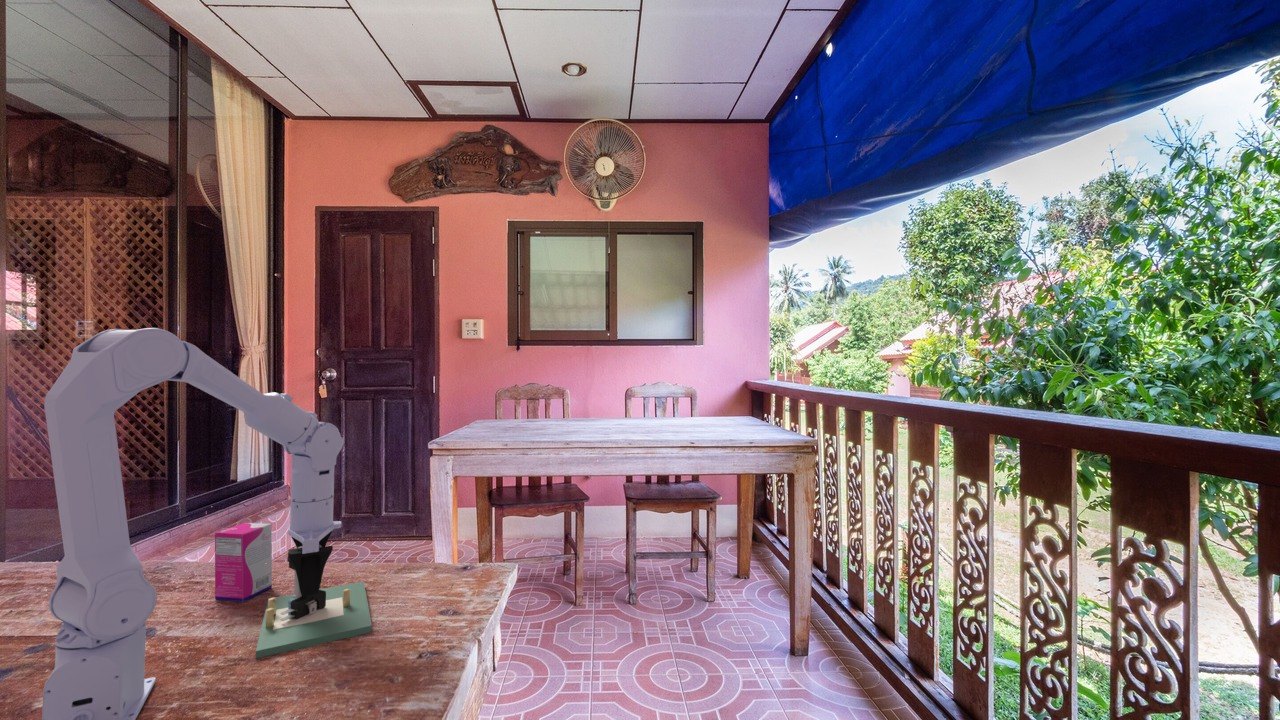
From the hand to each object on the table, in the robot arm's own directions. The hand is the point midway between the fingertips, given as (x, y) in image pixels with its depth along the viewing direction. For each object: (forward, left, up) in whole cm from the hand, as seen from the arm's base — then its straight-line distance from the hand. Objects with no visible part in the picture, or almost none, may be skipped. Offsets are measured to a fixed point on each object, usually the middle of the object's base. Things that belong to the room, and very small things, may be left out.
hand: (310, 584), depth 81 cm
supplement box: (+16, +10, -6) cm, 20 cm away
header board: (0, -1, -5) cm, 5 cm away
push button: (0, +1, -4) cm, 5 cm away
